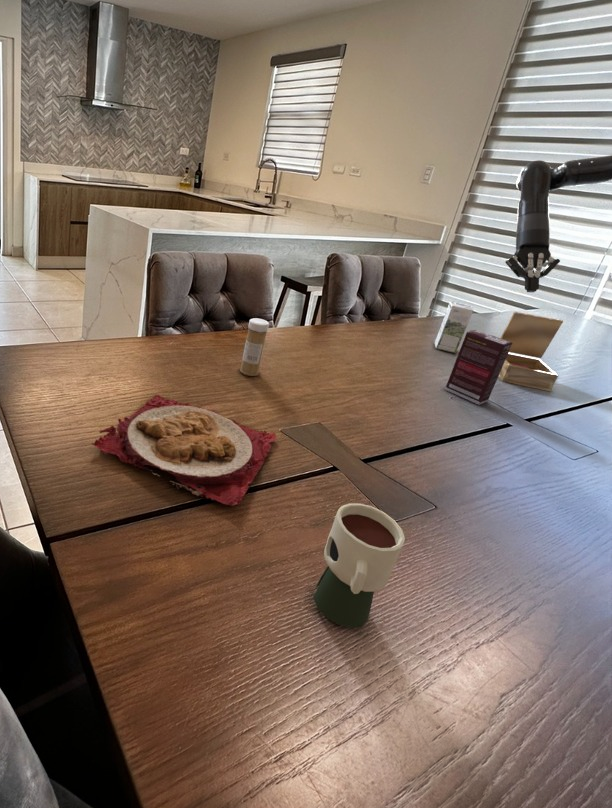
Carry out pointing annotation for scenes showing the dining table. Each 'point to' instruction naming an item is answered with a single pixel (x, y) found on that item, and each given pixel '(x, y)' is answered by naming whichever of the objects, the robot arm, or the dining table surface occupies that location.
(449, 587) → the dining table surface
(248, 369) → the sprinkles bottle
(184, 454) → the plate with food
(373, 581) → the character mug
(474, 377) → the supplement box
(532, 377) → the box
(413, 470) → the dining table surface
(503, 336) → the box lid
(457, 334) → the syrup box
